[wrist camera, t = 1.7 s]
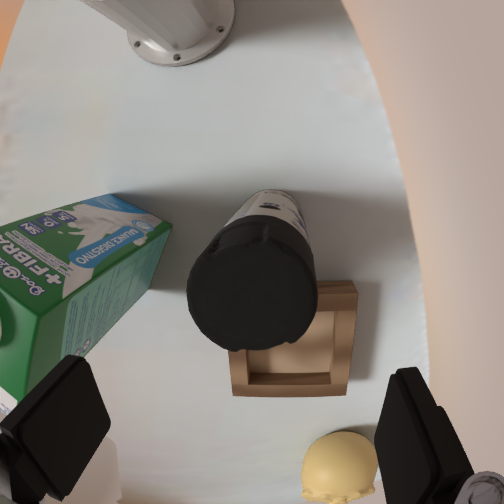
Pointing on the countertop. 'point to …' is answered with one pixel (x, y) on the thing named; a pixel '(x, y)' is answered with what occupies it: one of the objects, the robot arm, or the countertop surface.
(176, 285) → the countertop surface
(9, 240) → the milk carton
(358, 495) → the sculpture
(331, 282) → the socket block
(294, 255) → the spray can
